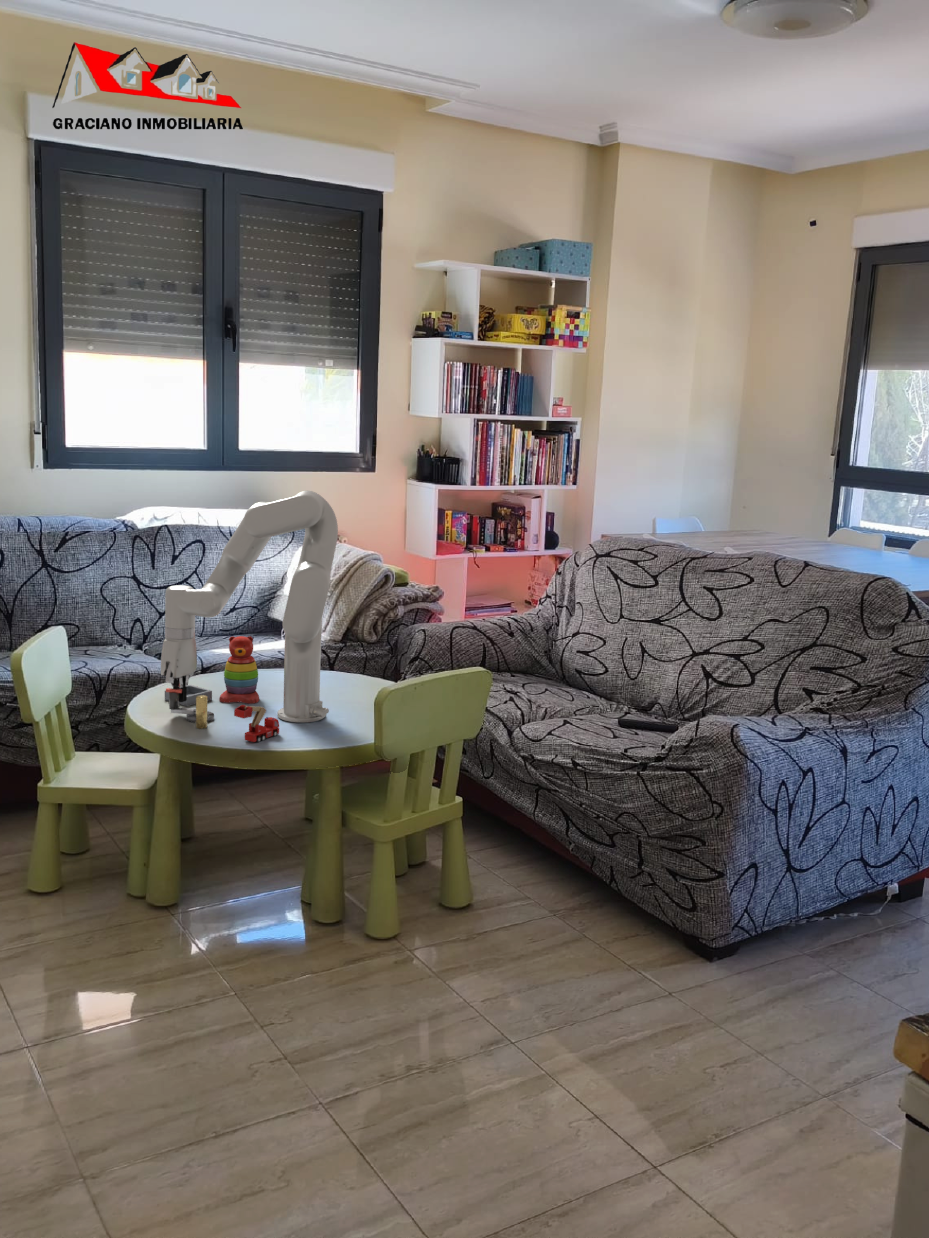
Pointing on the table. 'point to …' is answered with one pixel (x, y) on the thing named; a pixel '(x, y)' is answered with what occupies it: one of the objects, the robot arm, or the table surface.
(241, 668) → the stacking bear
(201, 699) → the pin
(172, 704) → the crank
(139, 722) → the table surface
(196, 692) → the tray
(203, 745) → the table surface
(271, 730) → the toy fire truck
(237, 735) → the table surface
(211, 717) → the hub
